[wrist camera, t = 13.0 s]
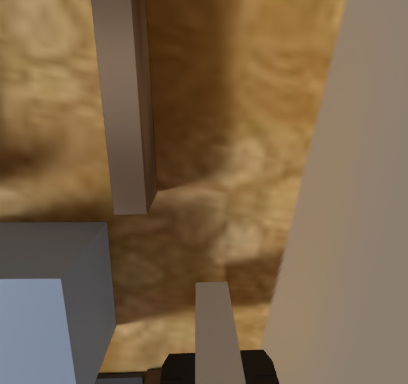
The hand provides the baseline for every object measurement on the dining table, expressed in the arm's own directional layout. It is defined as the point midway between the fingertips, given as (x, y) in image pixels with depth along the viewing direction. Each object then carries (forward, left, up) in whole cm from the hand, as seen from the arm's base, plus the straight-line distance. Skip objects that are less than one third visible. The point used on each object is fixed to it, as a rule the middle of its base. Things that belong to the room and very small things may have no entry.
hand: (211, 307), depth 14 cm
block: (-1, -8, -2) cm, 8 cm away
